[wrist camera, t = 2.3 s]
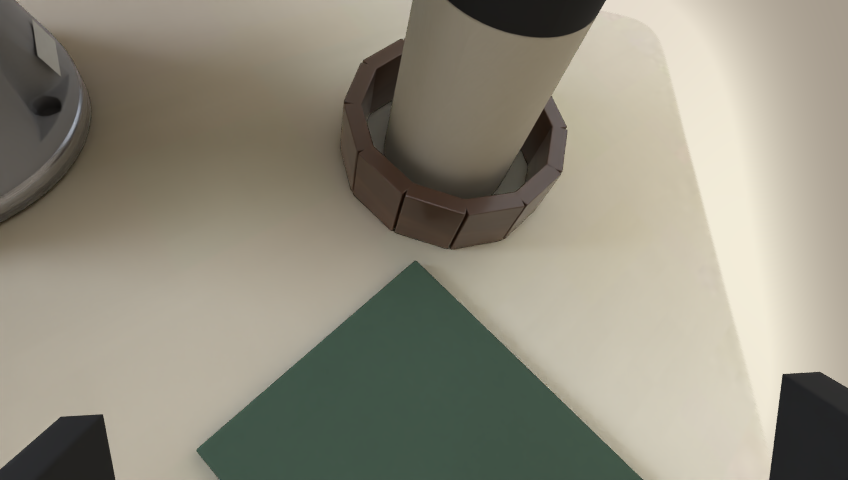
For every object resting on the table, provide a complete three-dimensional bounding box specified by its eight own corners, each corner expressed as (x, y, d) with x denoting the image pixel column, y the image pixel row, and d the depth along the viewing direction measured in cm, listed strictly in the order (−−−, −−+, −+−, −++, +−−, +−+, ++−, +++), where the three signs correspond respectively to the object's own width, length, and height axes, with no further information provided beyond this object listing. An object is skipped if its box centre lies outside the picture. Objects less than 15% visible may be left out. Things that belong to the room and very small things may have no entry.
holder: (299, 142, 32) (297, 96, 28) (439, 55, 38) (452, 8, 34) (451, 289, 29) (470, 258, 26) (576, 170, 35) (605, 132, 32)
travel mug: (393, 213, 31) (479, -98, 15) (375, 109, 34) (430, -231, 19) (516, 206, 33) (705, -76, 17) (488, 109, 36) (623, -199, 21)
